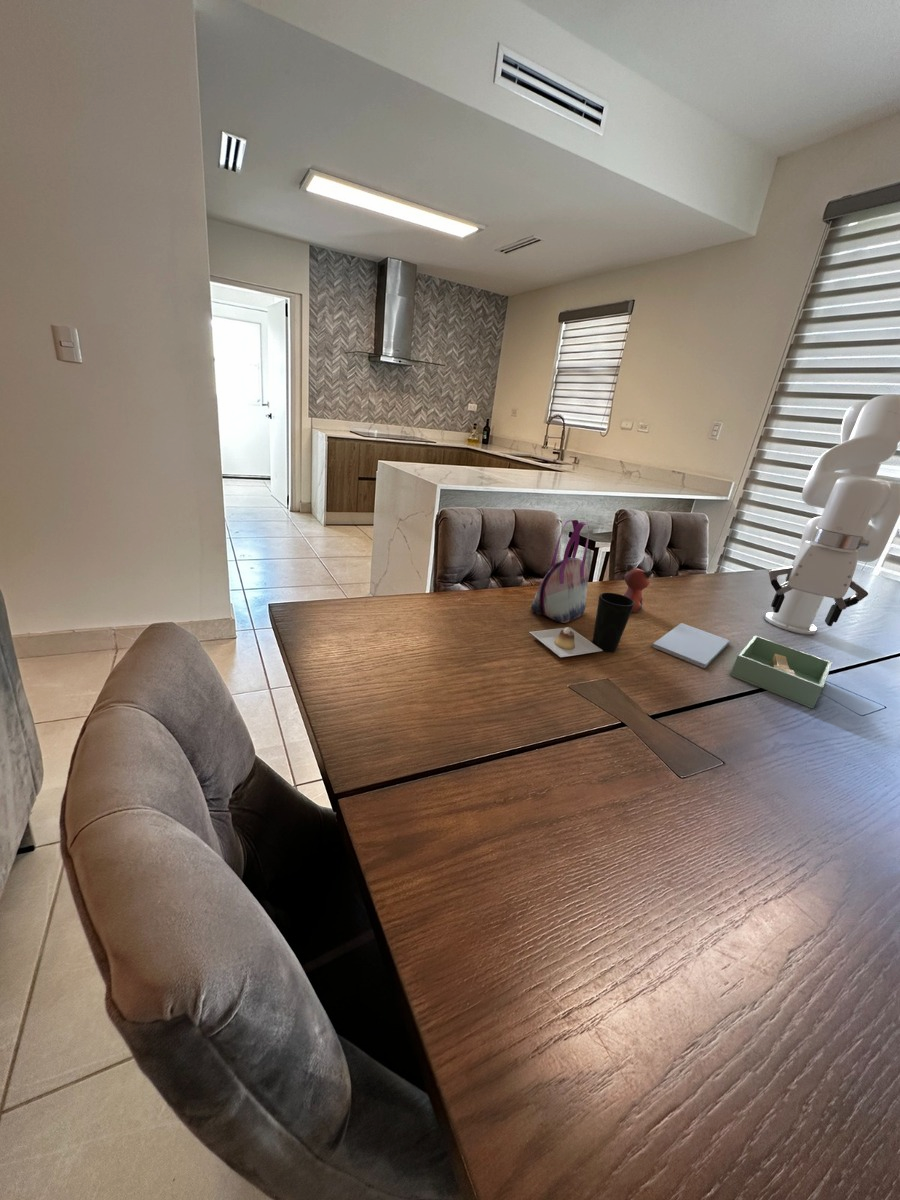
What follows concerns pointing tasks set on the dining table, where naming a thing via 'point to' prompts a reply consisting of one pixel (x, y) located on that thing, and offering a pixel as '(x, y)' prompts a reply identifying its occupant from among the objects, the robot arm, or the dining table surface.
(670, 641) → the mat
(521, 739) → the dining table surface
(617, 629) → the cup
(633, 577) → the stuffed fox
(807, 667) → the basket
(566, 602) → the handbag
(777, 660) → the brush
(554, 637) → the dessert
